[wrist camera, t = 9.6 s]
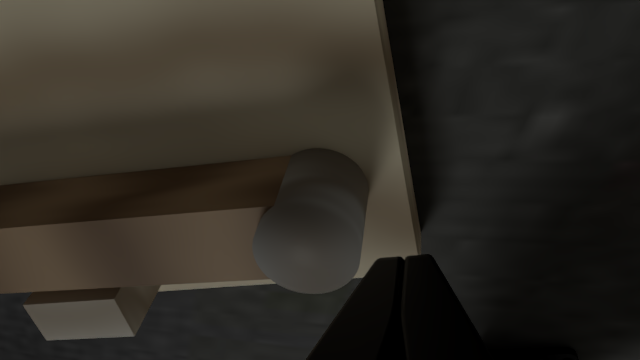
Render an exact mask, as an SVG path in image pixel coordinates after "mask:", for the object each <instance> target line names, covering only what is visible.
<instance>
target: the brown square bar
mask: <svg viewBox="0 0 640 360" xmlns="http://www.w3.org/2000/svg"><path fill="white" fill-rule="evenodd" d="M368 194H369V188H368V182H367V179H366V177H365V174H364V173H363V171H362V169H361V168H360V167H359V166H358V165H357V164H356V163H355V162H354V161H353V160H352V159H350V158H349V157H347V156H346V155H344V154H342V153H339V152H337V151H334V150H330V149H324V148H312V149H306V150H302V151H299V152H297V153H295V154H293V155H291V156H282V157H273V158H263V159H253V160H243V161H234V162H224V163H214V164H204V165H195V166H185V167H175V168H165V169H156V170H146V171H136V172H126V173H117V174H107V175H97V176H87V177H78V178H68V179H58V180H48V181H39V182H29V183H19V184H9V185H0V294H2V293H21V292H40V291H59V290H77V289H96V288H115V287H134V286H152V285H171V284H190V283H209V282H227V281H246V280H265V279H271V280H272V281H273V282H275V283H276V284H278V285H280V286H282V287H284V288H286V289H289V290H292V291H295V292H300V293H306V294H321V293H327V292H331V291H334V290H337V289H339V288H341V287H343V286H344V285H346V284H347V283H348V282H349V281H351V279H352V278H353V277H354V276H355V274H356V273H357V271H358V268H359V264H360V259H361V251H362V243H363V235H364V226H365V218H366V210H367V202H368Z"/></svg>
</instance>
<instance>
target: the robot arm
mask: <svg viewBox="0 0 640 360" xmlns="http://www.w3.org/2000/svg"><path fill="white" fill-rule="evenodd" d="M306 360H578V356H577V353H576V351H575V350H574V349H572V348H569V347H556V348H528V349H501V350H488V349H487V347H486V345H485V343H484V342H483V340H482V338H481V337H480V335H479V333H478V332H477V330H476V328H475V327H474V325H473V323H472V322H471V320H470V318H469V317H468V315H467V313H466V311H465V310H464V308H463V306H462V305H461V303H460V301H459V300H458V298H457V296H456V295H455V293H454V291H453V290H452V288H451V286H450V285H449V283H448V281H447V280H446V278H445V276H444V274H443V273H442V271H441V269H440V268H439V266H438V264H437V263H436V261H435V259H434V258H433V257H432V256H431V255H429V254H423V255H410V256H407V257H406V258H405V259H403V258H402V257H400V256H397V257H384V258H378V259H377V260H375V262H374V263H373V265H372V266H371V267H370V269H369V270H368V272H367V273H366V275H365V276H364V277H363V279H362V280H361V282H360V283H359V284H358V286H357V287H356V289H355V290H354V292H353V293H352V294H351V296H350V297H349V299H348V300H347V302H346V303H345V304H344V306H343V307H342V309H341V310H340V312H339V313H338V314H337V316H336V317H335V319H334V320H333V322H332V323H331V324H330V326H329V327H328V329H327V330H326V331H325V333H324V334H323V336H322V337H321V339H320V340H319V341H318V343H317V344H316V346H315V347H314V349H313V350H312V351H311V353H310V354H309V356H308V357H307V359H306Z"/></svg>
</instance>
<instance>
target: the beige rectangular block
mask: <svg viewBox="0 0 640 360" xmlns="http://www.w3.org/2000/svg"><path fill="white" fill-rule="evenodd" d="M312 148H324V149H330V150H334V151H337V152H339V153H342V154H344V155H346V156H347V157H349V158H350V159H352V160H353V161H354V162H355V163H356V164H357V165H358V166H359V167H360V168H361V169H362V171H363V173H364V174H365V177H366V179H367V182H368V188H369V194H368V202H367V210H366V218H365V226H364V235H363V243H362V251H361V259H360V264H359V268H358V271H357V273H356V274H355V276H354V277H353V278H363V277H364V276H365V275H366V273H367V272H368V270H369V269H370V267H371V266H372V265H373V263H374V262H375V260H377V259H378V258H384V257H397V256H400V257H402V258H403V259H405V258H406V257H407V256H410V255H421V231H420V225H419V219H418V213H417V206H416V200H415V194H414V188H413V182H412V176H411V170H410V164H409V158H408V152H407V145H406V139H405V133H404V127H403V121H402V115H401V109H400V103H399V97H398V91H397V84H396V78H395V72H394V66H393V60H392V54H391V48H390V42H389V36H388V30H387V23H386V17H385V11H384V5H383V0H0V185H9V184H19V183H29V182H39V181H48V180H58V179H68V178H78V177H87V176H97V175H107V174H117V173H126V172H136V171H146V170H156V169H165V168H175V167H185V166H195V165H204V164H214V163H224V162H234V161H243V160H253V159H263V158H273V157H282V156H291V155H293V154H295V153H297V152H299V151H302V150H306V149H312ZM260 284H275V282H273V281H272V280H271V279H265V280H246V281H227V282H209V283H190V284H171V285H152V286H134V287H115V288H96V289H77V290H59V291H40V292H32V294H31V295H30V296H29V298H28V299H27V300H26V302H25V303H24V304H23V306H24V308H25V309H26V311H27V312H28V314H29V315H30V317H31V318H32V320H33V321H34V323H35V324H36V325H37V327H38V328H39V330H40V331H41V333H42V334H43V336H44V337H45V339H46V340H66V339H87V338H108V337H129V336H135V335H136V333H137V331H138V329H139V327H140V325H141V323H142V321H143V319H144V317H145V315H146V313H147V311H148V309H149V308H150V306H151V304H152V302H153V300H154V298H155V296H156V294H157V292H158V291H171V290H186V289H201V288H216V287H231V286H245V285H260Z"/></svg>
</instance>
